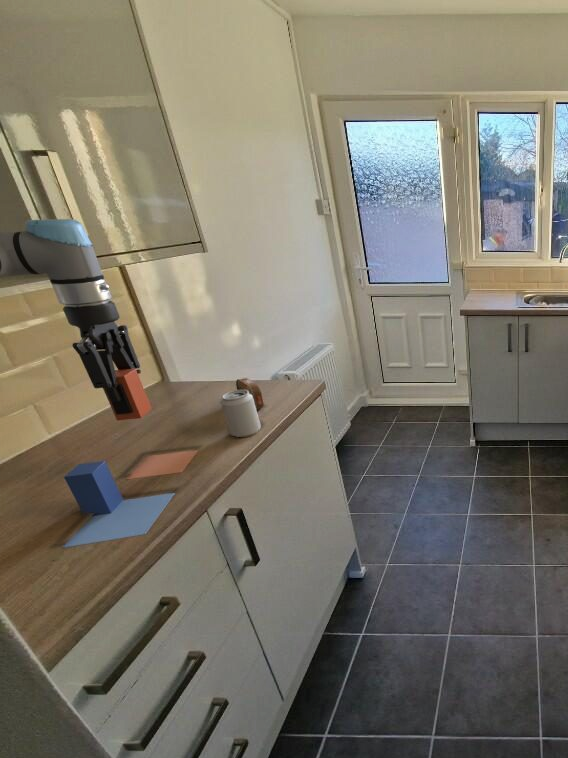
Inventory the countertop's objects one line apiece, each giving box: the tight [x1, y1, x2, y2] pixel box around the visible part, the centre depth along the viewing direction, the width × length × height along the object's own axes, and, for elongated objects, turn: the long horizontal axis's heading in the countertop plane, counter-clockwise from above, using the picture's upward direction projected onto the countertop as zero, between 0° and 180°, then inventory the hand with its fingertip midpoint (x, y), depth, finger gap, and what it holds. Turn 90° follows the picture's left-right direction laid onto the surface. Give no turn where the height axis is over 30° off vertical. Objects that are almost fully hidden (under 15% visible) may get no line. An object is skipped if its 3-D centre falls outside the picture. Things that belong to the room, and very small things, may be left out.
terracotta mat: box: [126, 449, 200, 481], centre depth 102 cm, size 12×10×1 cm
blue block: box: [63, 460, 124, 516], centre depth 85 cm, size 4×4×10 cm
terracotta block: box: [102, 369, 153, 421], centre depth 90 cm, size 4×4×10 cm
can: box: [220, 389, 262, 438], centre depth 114 cm, size 8×8×12 cm
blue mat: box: [61, 492, 176, 549], centre depth 84 cm, size 14×13×1 cm
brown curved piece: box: [235, 377, 265, 411], centre depth 130 cm, size 15×3×8 cm, turn 49°
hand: (131, 407), depth 91 cm, fingers closed on terracotta block, 4 cm apart
